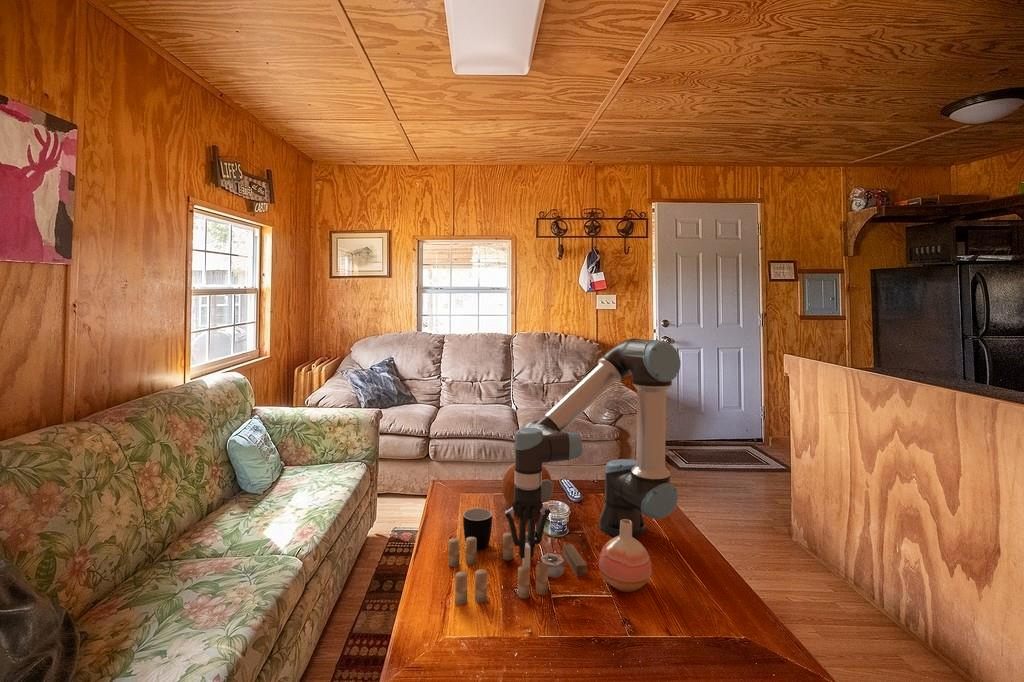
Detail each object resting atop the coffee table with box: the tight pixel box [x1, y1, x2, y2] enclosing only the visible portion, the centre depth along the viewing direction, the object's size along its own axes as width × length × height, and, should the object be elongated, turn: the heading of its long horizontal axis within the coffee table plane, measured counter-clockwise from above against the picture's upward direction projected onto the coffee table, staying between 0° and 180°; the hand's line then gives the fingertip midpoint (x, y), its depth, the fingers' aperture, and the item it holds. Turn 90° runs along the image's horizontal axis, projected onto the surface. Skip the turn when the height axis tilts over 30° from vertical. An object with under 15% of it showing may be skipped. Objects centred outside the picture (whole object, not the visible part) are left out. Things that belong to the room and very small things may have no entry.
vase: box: [598, 519, 652, 593], centre depth 128 cm, size 14×14×18 cm
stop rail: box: [561, 543, 588, 577], centre depth 138 cm, size 3×12×3 cm, turn 13°
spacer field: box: [448, 531, 549, 606], centre depth 131 cm, size 24×22×7 cm
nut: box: [539, 552, 565, 579], centre depth 135 cm, size 6×7×4 cm
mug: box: [462, 507, 493, 552], centre depth 150 cm, size 12×9×10 cm
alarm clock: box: [501, 462, 554, 508], centre depth 179 cm, size 19×18×17 cm
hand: (526, 568), depth 133 cm, fingers closed
